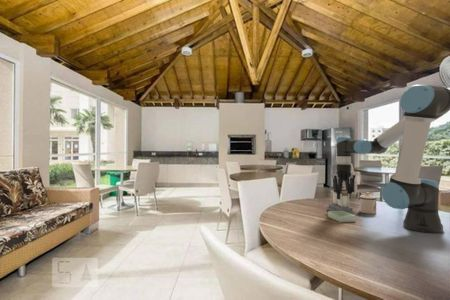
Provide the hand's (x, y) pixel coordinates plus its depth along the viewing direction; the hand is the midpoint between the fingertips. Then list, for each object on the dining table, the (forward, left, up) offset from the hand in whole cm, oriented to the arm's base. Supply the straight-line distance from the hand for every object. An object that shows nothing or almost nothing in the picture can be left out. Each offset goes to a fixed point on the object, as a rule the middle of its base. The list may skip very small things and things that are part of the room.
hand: (343, 204), depth 155 cm
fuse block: (+4, 0, -5) cm, 6 cm away
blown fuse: (0, 0, -3) cm, 3 cm away
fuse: (+7, 0, -3) cm, 8 cm away
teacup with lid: (+3, -17, -5) cm, 18 cm away
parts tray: (-10, +8, -5) cm, 14 cm away
